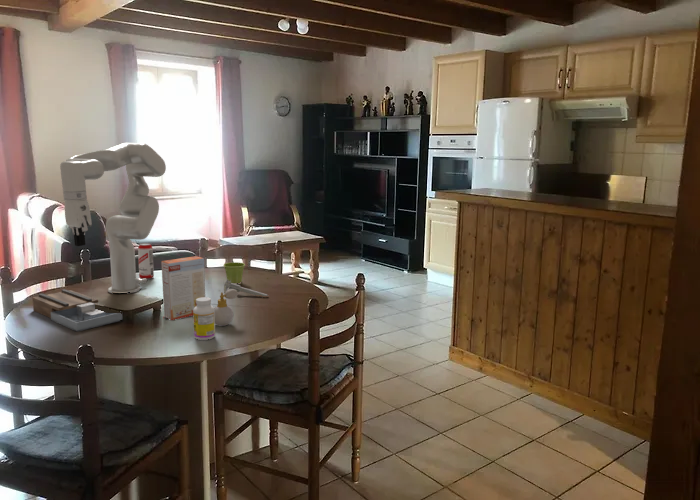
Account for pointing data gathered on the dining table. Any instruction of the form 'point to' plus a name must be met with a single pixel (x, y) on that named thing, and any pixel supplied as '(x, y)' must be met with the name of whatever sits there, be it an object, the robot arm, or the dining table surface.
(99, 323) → the tray
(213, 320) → the supplement bottle
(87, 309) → the chip
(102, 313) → the chip
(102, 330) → the dining table surface
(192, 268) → the cracker box
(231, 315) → the perfume bottle
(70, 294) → the slot board
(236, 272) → the plant pot
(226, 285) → the caliper
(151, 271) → the beer can
